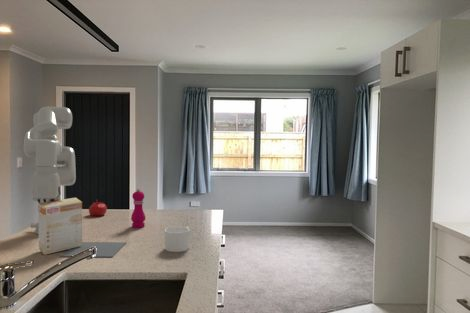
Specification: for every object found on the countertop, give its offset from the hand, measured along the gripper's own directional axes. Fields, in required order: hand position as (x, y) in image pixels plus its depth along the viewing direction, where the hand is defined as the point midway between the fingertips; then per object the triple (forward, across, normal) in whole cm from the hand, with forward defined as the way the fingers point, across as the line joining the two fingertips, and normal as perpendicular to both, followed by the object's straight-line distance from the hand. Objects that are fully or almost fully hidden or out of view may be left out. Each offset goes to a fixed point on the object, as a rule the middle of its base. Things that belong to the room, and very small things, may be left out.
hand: (46, 215), depth 151 cm
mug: (+14, +53, +5) cm, 56 cm away
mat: (+14, +19, 0) cm, 24 cm away
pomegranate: (+14, -3, +66) cm, 68 cm away
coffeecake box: (+14, +5, 0) cm, 15 cm away
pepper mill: (+14, +27, +40) cm, 51 cm away
